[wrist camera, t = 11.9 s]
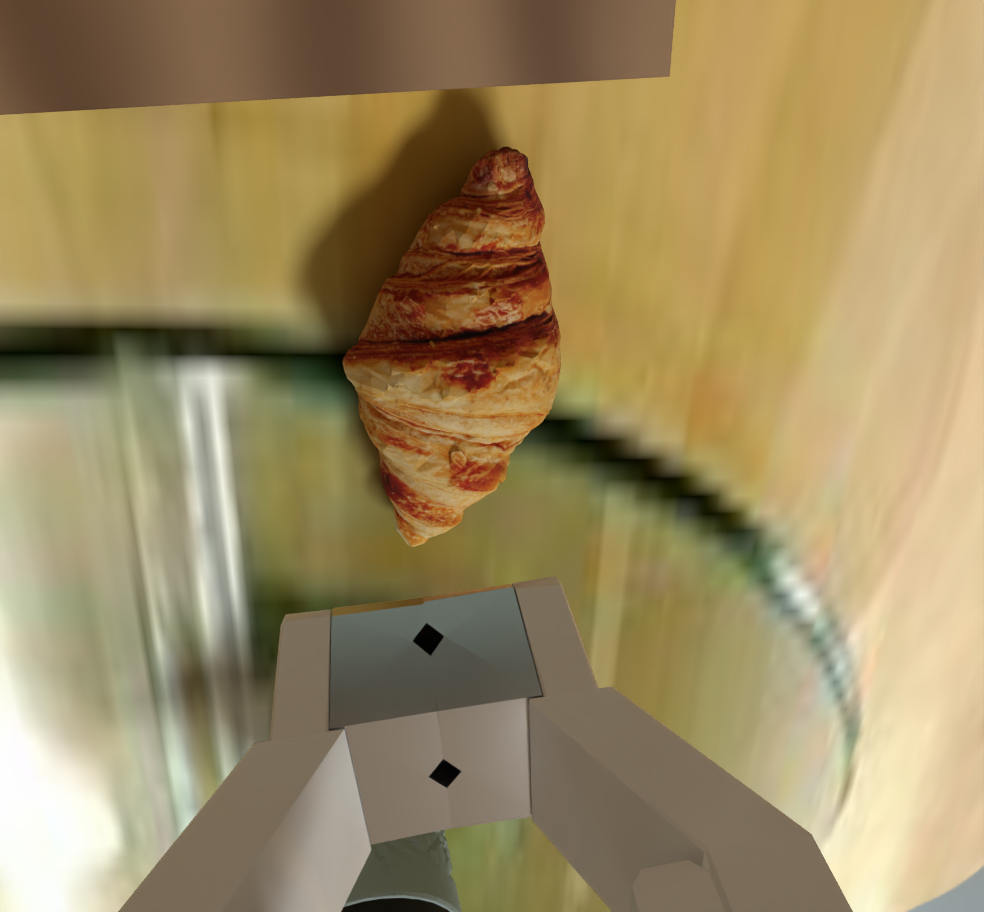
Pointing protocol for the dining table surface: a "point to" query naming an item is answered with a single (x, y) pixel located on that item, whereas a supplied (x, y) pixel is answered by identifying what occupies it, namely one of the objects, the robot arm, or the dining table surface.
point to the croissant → (460, 349)
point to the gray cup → (406, 877)
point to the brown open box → (313, 48)
